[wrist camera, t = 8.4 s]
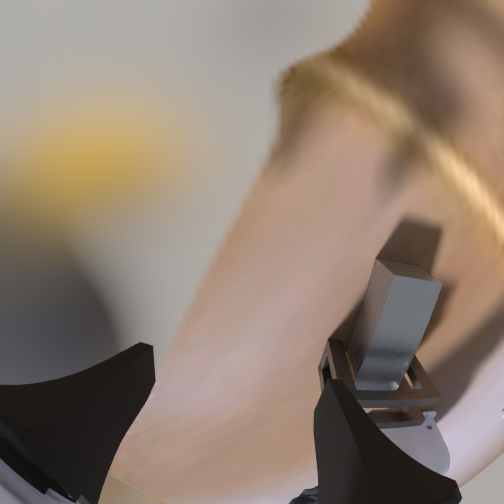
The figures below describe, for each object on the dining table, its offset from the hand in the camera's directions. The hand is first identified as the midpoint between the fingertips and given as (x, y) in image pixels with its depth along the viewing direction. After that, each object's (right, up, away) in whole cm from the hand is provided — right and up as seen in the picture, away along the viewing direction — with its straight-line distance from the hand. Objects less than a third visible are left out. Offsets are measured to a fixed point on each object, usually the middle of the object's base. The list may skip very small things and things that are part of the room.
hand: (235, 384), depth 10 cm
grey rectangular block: (+11, -1, +10) cm, 15 cm away
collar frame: (+10, -4, +11) cm, 15 cm away
